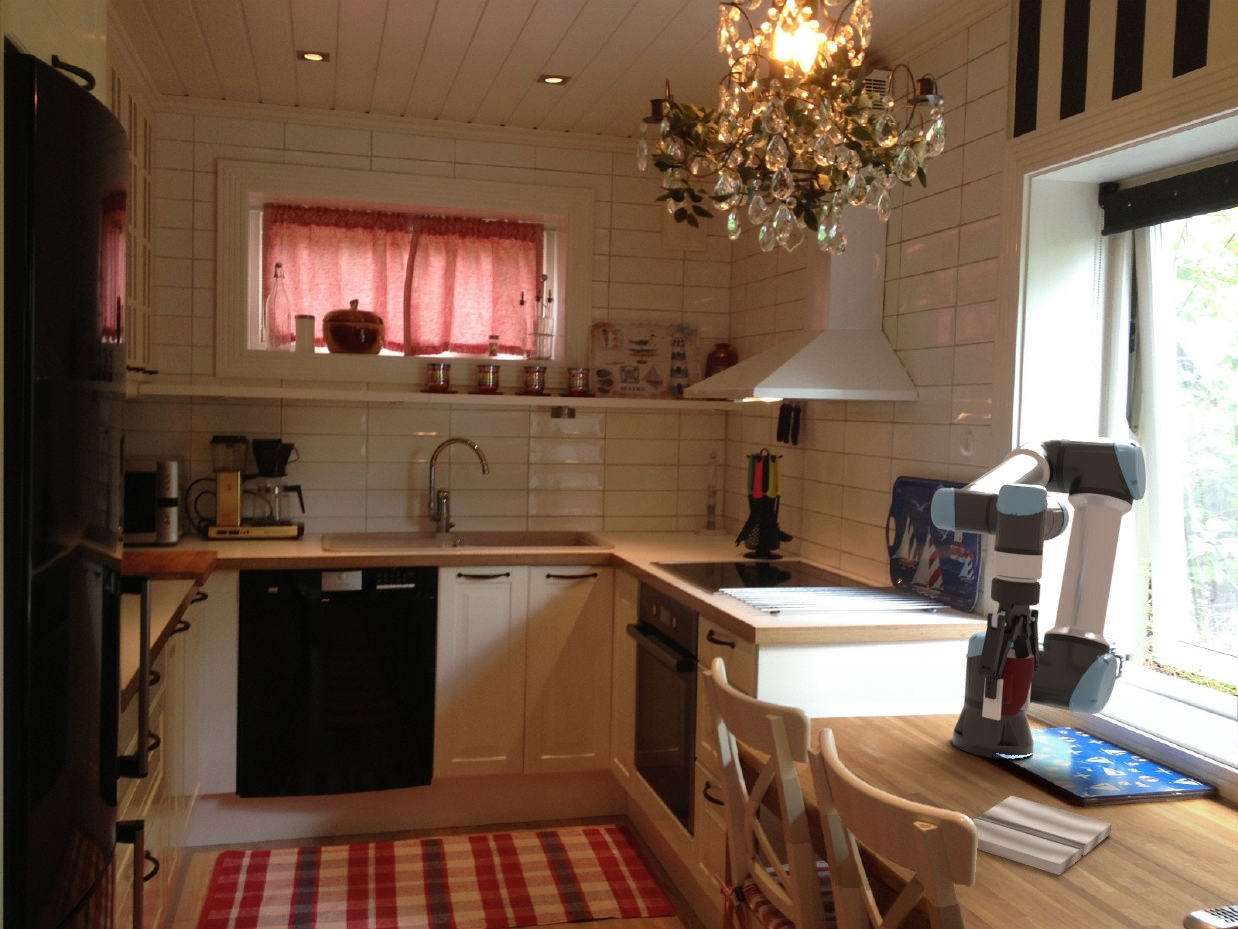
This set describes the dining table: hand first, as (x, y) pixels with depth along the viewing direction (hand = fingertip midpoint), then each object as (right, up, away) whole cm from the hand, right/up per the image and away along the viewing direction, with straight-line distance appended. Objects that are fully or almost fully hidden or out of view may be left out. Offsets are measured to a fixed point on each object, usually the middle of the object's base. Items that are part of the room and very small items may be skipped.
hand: (1006, 713), depth 177 cm
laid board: (-4, -17, -15) cm, 23 cm away
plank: (+4, -17, -6) cm, 18 cm away
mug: (0, 0, 0) cm, 1 cm away
